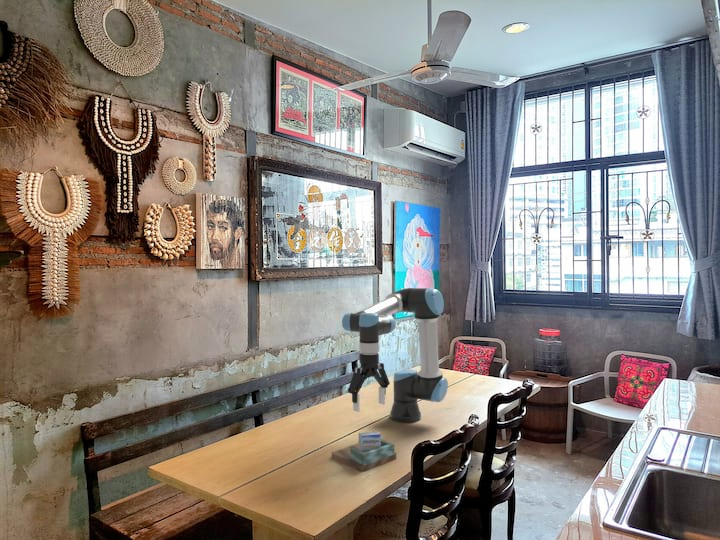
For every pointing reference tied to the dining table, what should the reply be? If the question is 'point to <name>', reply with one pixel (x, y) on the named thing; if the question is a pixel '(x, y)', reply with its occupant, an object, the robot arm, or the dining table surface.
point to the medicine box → (369, 441)
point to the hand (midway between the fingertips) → (369, 407)
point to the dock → (366, 456)
